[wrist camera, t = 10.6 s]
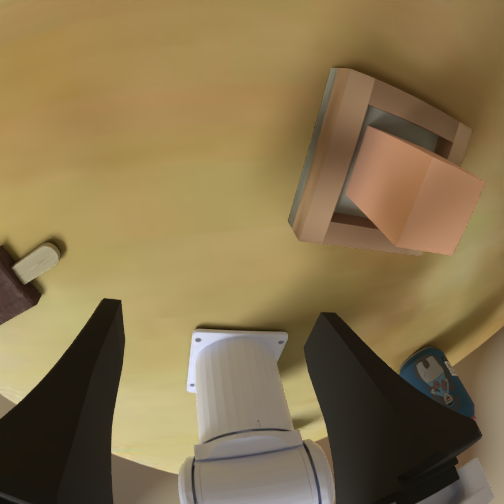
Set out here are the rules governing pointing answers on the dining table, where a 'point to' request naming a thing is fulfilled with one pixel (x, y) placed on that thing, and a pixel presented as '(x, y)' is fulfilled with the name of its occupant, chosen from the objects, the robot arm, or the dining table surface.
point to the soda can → (437, 380)
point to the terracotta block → (412, 193)
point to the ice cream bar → (23, 279)
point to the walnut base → (347, 149)
